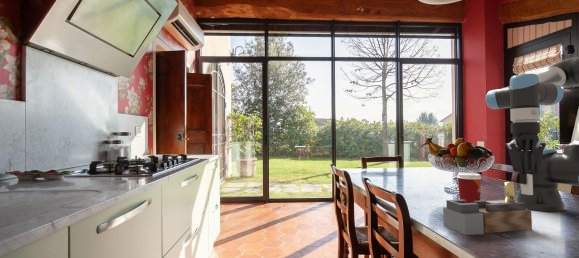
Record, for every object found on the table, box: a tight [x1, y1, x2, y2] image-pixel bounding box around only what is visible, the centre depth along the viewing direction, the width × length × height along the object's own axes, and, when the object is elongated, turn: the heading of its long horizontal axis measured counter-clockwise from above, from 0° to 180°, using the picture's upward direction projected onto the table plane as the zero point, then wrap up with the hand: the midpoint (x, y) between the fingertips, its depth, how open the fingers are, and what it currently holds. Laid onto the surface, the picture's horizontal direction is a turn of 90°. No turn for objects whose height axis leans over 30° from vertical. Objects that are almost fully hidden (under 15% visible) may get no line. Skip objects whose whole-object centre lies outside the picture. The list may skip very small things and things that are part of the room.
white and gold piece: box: [485, 181, 518, 204], centre depth 96 cm, size 9×3×8 cm, turn 98°
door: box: [473, 198, 533, 234], centre depth 96 cm, size 16×8×8 cm, turn 98°
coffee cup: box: [456, 172, 483, 203], centre depth 112 cm, size 8×8×15 cm
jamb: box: [442, 199, 485, 236], centre depth 94 cm, size 6×10×9 cm, turn 8°
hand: (527, 194), depth 98 cm, fingers closed
